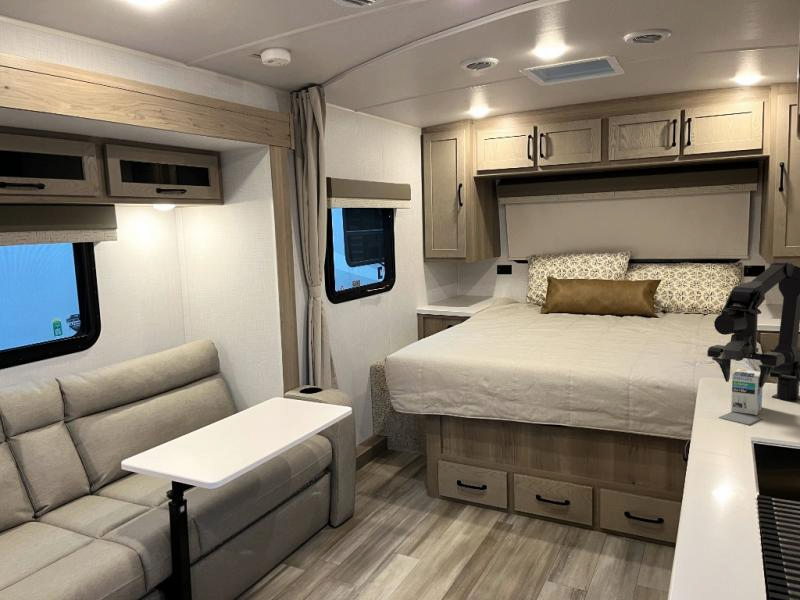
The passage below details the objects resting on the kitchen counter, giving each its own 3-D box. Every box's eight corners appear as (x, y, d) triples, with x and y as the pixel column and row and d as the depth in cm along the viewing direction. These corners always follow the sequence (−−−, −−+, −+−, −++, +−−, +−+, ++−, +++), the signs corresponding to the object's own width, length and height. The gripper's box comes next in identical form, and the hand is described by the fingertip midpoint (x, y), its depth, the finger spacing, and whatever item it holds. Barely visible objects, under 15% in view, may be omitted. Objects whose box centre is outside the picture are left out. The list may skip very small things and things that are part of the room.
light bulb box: (757, 415, 168) (759, 377, 167) (730, 411, 172) (731, 374, 172) (762, 407, 177) (763, 371, 176) (736, 404, 181) (737, 368, 180)
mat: (732, 412, 173) (732, 411, 173) (762, 419, 167) (762, 417, 167) (718, 418, 168) (718, 417, 168) (748, 425, 162) (748, 423, 162)
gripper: (698, 330, 174) (697, 383, 176) (768, 338, 159) (766, 396, 161) (717, 325, 180) (716, 377, 182) (786, 333, 165) (784, 388, 167)
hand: (743, 384), depth 173 cm, fingers open, 9 cm apart
